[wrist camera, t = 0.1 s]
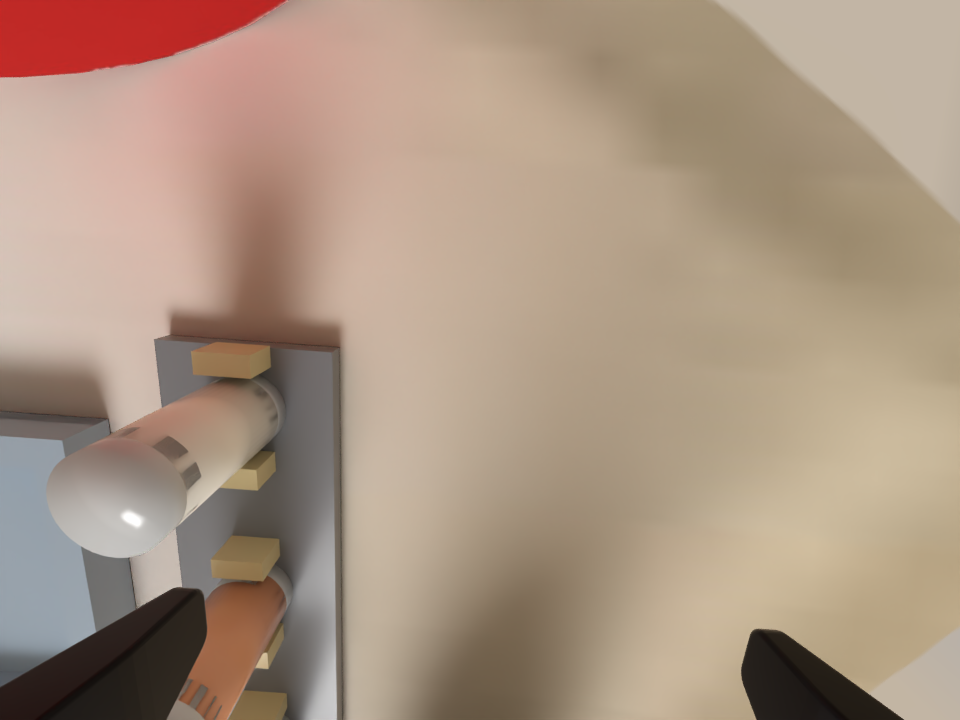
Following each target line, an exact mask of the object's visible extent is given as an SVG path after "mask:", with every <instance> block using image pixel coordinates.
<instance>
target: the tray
mask: <svg viewBox="0 0 960 720" xmlns="http://www.w3.org/2000/svg"><path fill="white" fill-rule="evenodd" d="M108 435H110V429H109V422H108V419H101V418H87V417H73V416H59V415H45V414H32V413H18V412H4V411H0V687H1V686H2V685H4V684H6V683H8V682H9V681H11V680H13V679H15V678H16V677H18V676H20V675H22V674H23V673H25V672H27V671H29V670H30V669H32V668H34V667H36V666H37V665H39V664H41V663H43V662H44V661H46V660H48V659H50V658H51V657H53V656H55V655H57V654H58V653H60V652H62V651H64V650H65V649H67V648H69V647H71V646H72V645H74V644H76V643H78V642H79V641H81V640H83V639H85V638H87V637H88V636H90V635H92V634H94V633H95V632H97V631H99V630H101V629H102V628H104V627H106V626H108V625H109V624H111V623H113V622H115V621H116V620H118V619H120V618H122V617H123V616H125V615H127V614H129V613H130V612H132V611H134V610H136V605H135V599H134V592H133V585H132V578H131V571H130V565H129V558H114V557H107V556H103V555H99V554H96V553H94V552H91V551H89V550H87V549H85V548H83V547H81V546H80V545H78V544H77V543H75V542H74V541H73V540H71V539H70V538H69V537H68V536H67V535H66V534H65V533H64V532H63V531H62V530H61V529H60V527H59V526H58V525H57V523H56V522H55V520H54V518H53V516H52V514H51V512H50V510H49V507H48V503H47V496H46V487H47V482H48V479H49V476H50V474H51V472H52V470H53V468H54V467H55V466H56V465H57V464H58V463H59V462H60V461H61V460H62V459H64V458H65V457H67V456H69V455H70V454H72V453H74V452H76V451H78V450H80V449H82V448H84V447H86V446H88V445H90V444H92V443H94V442H96V441H98V440H100V439H102V438H104V437H106V436H108Z"/></svg>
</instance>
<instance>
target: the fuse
mask: <svg viewBox="0 0 960 720" xmlns="http://www.w3.org/2000/svg"><path fill="white" fill-rule="evenodd" d="M285 418H286V408H285V403H284V400H283V398H282V396H281V394H280V392H279V391H278V389H277V388H276V387H275V386H274V385H273V384H272V383H271V382H270V381H268V380H267V379H265V378H264V377H262V376H260V375H257V376H255V377H253V378H252V379H246V378H232V377H221V378H219V379H217V380H215V381H213V382H211V383H210V384H208V385H206V386H204V387H202V388H200V389H198V390H196V391H194V392H192V393H190V394H188V395H186V396H184V397H182V398H180V399H178V400H176V401H174V402H172V403H170V404H168V405H166V406H164V407H163V408H161V409H159V410H157V411H155V412H153V413H151V414H149V415H147V416H145V417H143V418H141V419H139V420H137V421H135V422H133V423H131V424H129V425H127V426H125V427H123V428H121V429H119V430H117V431H116V432H114V433H112V434H110V435H108V436H106V437H104V438H102V439H100V440H98V441H96V442H94V443H92V444H90V445H88V446H86V447H84V448H82V449H80V450H78V451H76V452H74V453H72V454H70V455H69V456H67V457H65V458H64V459H62V460H61V461H60V462H59V463H58V464H57V465H56V466H55V467H54V468H53V470H52V472H51V474H50V476H49V479H48V482H47V487H46V496H47V503H48V507H49V510H50V512H51V514H52V516H53V518H54V520H55V522H56V523H57V525H58V526H59V527H60V529H61V530H62V531H63V532H64V533H65V534H66V535H67V536H68V537H69V538H70V539H71V540H73V541H74V542H75V543H77V544H78V545H80V546H81V547H83V548H85V549H87V550H89V551H91V552H94V553H96V554H99V555H103V556H107V557H114V558H128V557H134V556H138V555H141V554H144V553H146V552H148V551H150V550H151V549H153V548H154V547H155V546H157V545H158V544H159V543H160V542H161V541H162V540H163V539H164V538H165V537H166V536H167V535H168V534H170V533H171V532H172V531H173V530H174V529H175V528H176V527H177V526H178V525H179V524H180V523H182V522H183V521H184V520H185V519H186V518H187V517H188V516H189V515H190V514H191V513H192V512H194V511H195V510H196V509H197V508H198V507H199V506H200V505H201V504H202V503H203V502H204V501H206V500H207V499H208V498H209V497H210V496H211V495H212V494H213V493H214V492H215V491H216V490H217V489H219V488H220V487H221V486H222V485H223V484H224V483H225V482H226V481H227V480H228V479H229V478H231V477H232V476H233V475H234V474H235V473H236V472H237V471H238V470H239V469H240V468H241V467H243V466H244V465H245V464H246V463H247V462H248V461H249V460H250V459H251V458H252V457H253V456H255V455H256V454H257V453H258V452H259V451H260V450H261V449H262V448H263V447H264V446H265V445H266V444H268V443H269V442H270V441H271V440H272V439H273V438H274V437H275V436H276V435H277V434H278V433H279V432H280V431H281V429H282V427H283V425H284V422H285Z"/></svg>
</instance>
